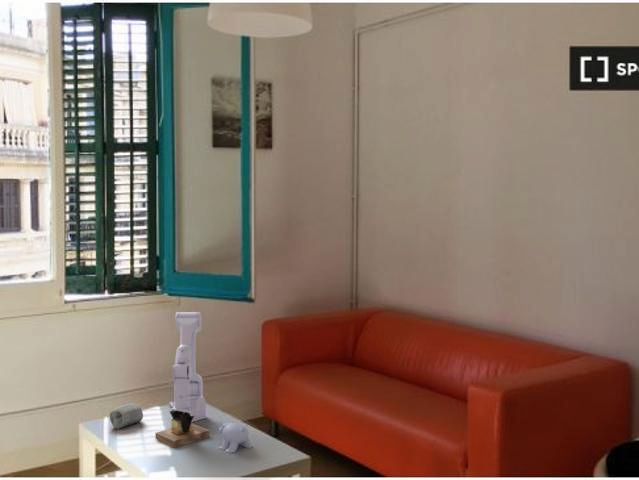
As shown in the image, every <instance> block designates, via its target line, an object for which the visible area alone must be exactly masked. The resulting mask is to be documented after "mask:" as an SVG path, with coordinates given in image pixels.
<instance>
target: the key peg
mask: <svg viewBox="0 0 639 480" xmlns="http://www.w3.org/2000/svg"><path fill="white" fill-rule="evenodd" d="M170 422H171V424H170V425H171V428H172V433H173V434H175V435H178V436H179V435H183V434H186V433H189V432H192V423H193V422H191V425H190V429H189V431H188V432H185V433H184V432H183V425H182V420H181V418H180V417H177V418H174V419H173V418H172V419H171V421H170Z"/></svg>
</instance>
